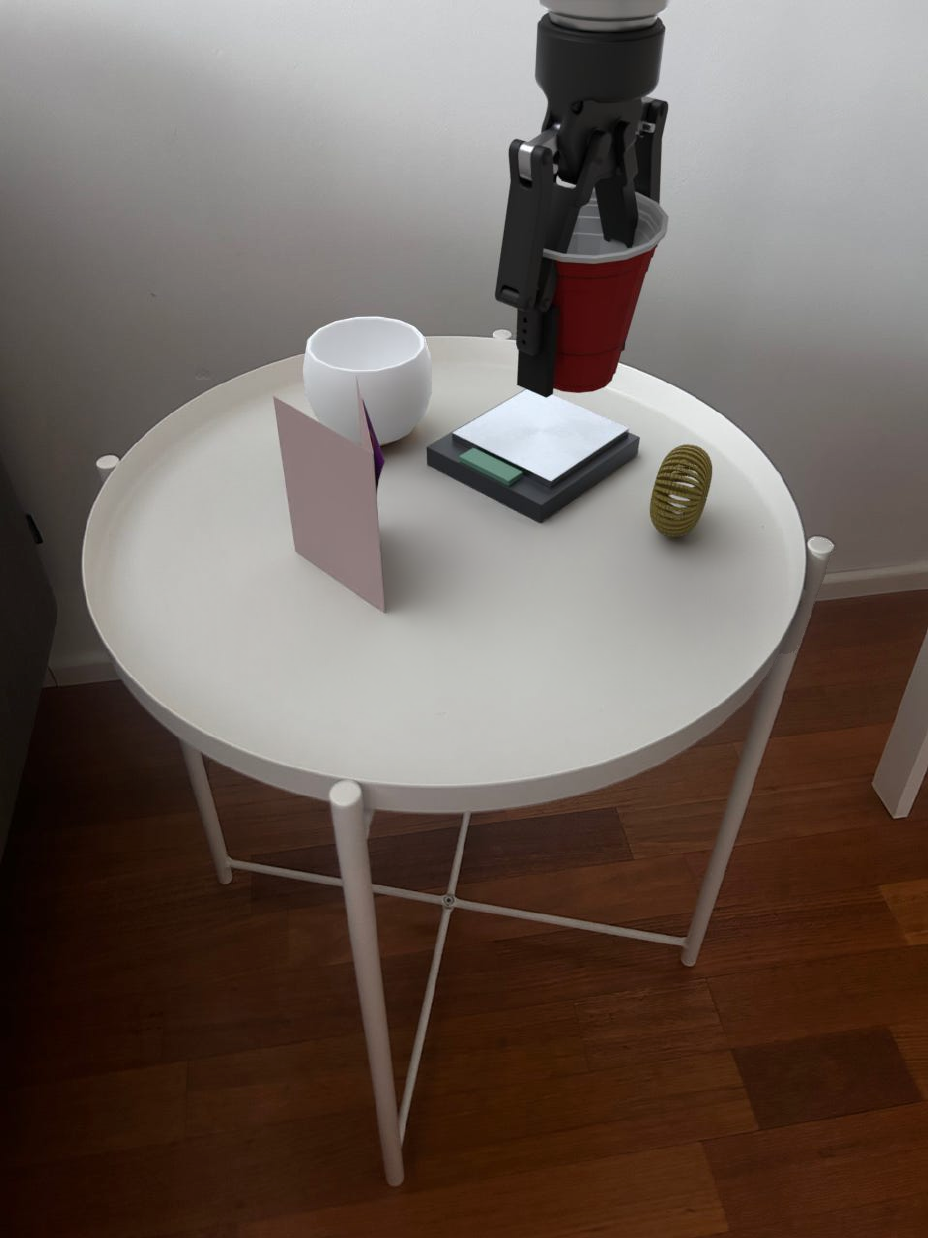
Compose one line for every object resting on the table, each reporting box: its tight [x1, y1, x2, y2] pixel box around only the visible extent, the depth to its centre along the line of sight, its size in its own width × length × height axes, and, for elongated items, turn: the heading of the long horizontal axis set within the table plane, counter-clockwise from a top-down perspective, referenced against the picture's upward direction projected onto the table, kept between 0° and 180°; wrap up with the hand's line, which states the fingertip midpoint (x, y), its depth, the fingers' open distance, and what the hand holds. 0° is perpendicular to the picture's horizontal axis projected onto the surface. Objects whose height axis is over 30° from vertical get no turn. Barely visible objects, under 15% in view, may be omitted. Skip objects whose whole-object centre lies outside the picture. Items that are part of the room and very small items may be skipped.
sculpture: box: [649, 443, 713, 538], centre depth 86 cm, size 8×4×8 cm, turn 155°
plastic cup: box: [537, 184, 669, 394], centre depth 71 cm, size 11×11×12 cm
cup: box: [302, 316, 433, 447], centre depth 98 cm, size 12×12×10 cm
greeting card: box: [272, 376, 386, 614], centre depth 79 cm, size 11×7×15 cm, turn 11°
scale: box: [426, 388, 641, 524], centre depth 96 cm, size 14×15×3 cm
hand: (572, 366), depth 74 cm, fingers closed on plastic cup, 8 cm apart
